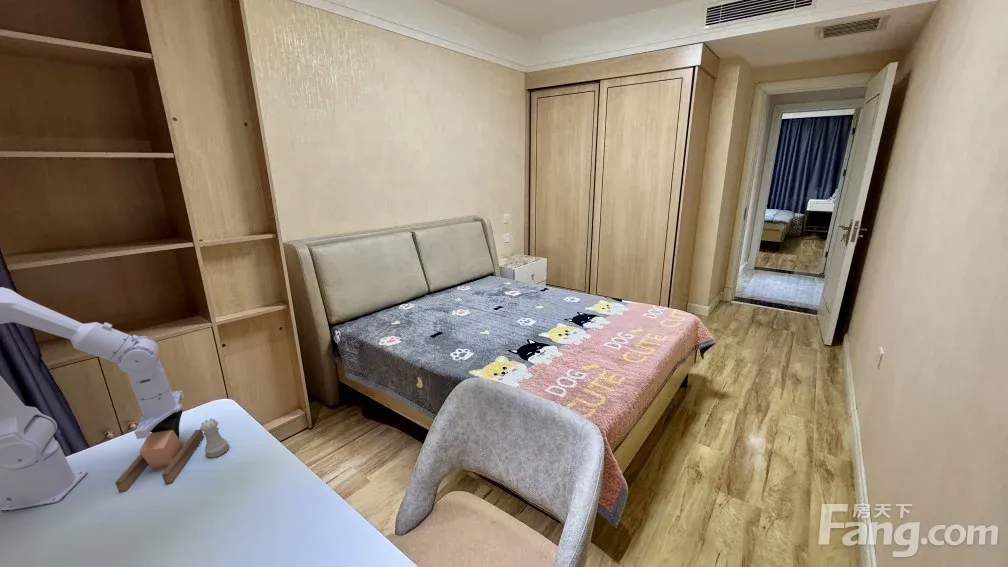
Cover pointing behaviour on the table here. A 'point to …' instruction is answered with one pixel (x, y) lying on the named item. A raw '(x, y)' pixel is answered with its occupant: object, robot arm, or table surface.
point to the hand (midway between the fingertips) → (172, 443)
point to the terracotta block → (161, 448)
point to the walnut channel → (170, 471)
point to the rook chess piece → (213, 439)
